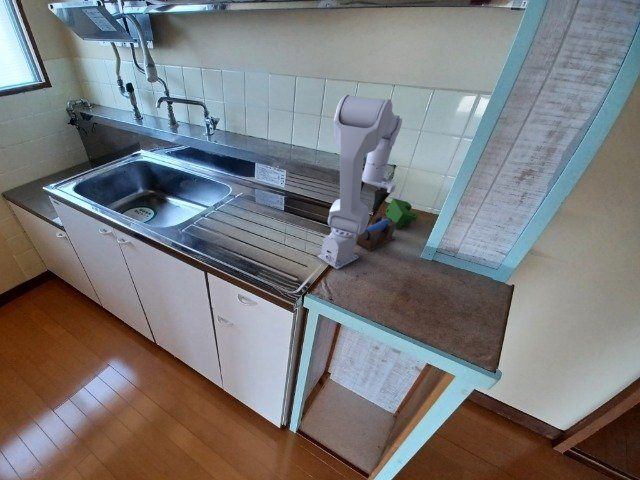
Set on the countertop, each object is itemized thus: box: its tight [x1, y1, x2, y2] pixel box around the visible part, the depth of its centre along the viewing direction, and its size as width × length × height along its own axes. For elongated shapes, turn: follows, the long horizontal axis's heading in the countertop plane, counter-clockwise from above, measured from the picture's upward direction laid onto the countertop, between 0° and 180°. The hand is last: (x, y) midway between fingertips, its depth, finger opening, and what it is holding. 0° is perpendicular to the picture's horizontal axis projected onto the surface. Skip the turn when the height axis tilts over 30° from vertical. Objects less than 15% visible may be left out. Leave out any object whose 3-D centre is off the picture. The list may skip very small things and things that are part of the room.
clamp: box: [385, 198, 419, 229], centre depth 110 cm, size 12×6×9 cm, turn 170°
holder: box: [356, 214, 397, 252], centre depth 102 cm, size 11×7×6 cm, turn 125°
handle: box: [360, 217, 393, 239], centre depth 100 cm, size 12×3×3 cm, turn 125°
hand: (364, 206), depth 101 cm, fingers open, 7 cm apart
